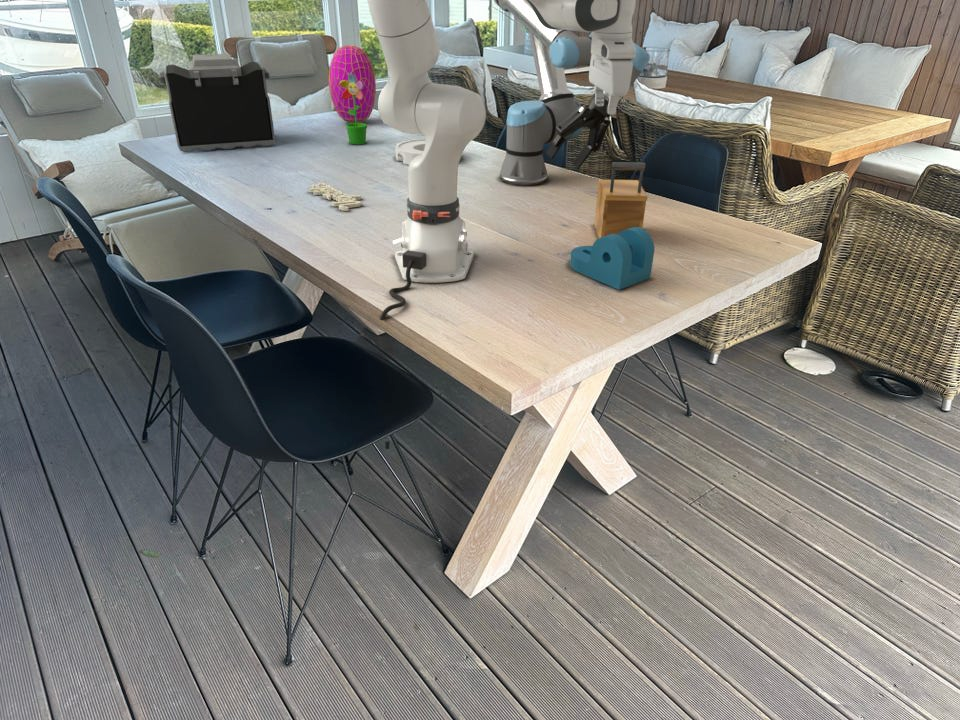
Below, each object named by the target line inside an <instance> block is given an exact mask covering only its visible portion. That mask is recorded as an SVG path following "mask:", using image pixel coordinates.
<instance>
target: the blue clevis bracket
mask: <svg viewBox="0 0 960 720" xmlns="http://www.w3.org/2000/svg"><path fill="white" fill-rule="evenodd" d="M654 255H655V244H654V240H653V238H652V236H651V235H650V234H649V232H648V231H647V230H646V229H644V228H640V227H633V228H629V229H626V230H623V231H621V232H620V233H619V234H618V235H617V234H610V235H607V236H604V237H601V238H599V237H598V238H597V239H595V241H594V242H593V243H592V245H581V246H577V247H575V248H572V249H571V251H570V257H569V258H570V259H569V266H570V268H571V269H572V270H573V271H575V272H577V273H579V274H582V275H584V276H586V277H588V278H591V279H593V280H595V281H598V282H600V283H603V284H605V285H607V286H609V287H611V288H613V289H616V290H619V291H620V290H622V289H626V288H627V287H630V286H633V285H636V284H638V283H640V282H643V281H646V280H648V279H651V277H652V269H653V262H654V257H655V256H654Z"/></svg>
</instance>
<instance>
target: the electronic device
mask: <svg viewBox="0 0 960 720" xmlns="http://www.w3.org/2000/svg"><path fill="white" fill-rule="evenodd" d="M187 66H188V68H187V69H186V68H184V67H181V66H179V65H176V64H165V66H164V71H161V72H159V83H161V84H165V85H166V89H167V94H168V107H169V111H170V115H171V120H172V125H173V130H174V135H175V140H176V144H177V148H178V150H179V152H183V153H192V152H194V151H198V150H202V151H204V152H209V151H213V150H215V149H222V150H233V149H235V148H236V147H238V148H239V147H242V148H245V149H247V148H251V149H252V148H253V147H255V146H262V147H272V146H273V145H275V144H276V135H275V134H276V133H275V128H274V119H273V114H272V105H271V99H270V96H269V95H268V88H267V87H268V85H267V79H270V78H271V76H270V72H269V71H268V70H267V68H265V67H262V66H261V64H260V63H259V62H258V61H249V62H248V63H245V64H244V65H242V66H240V64H239V63H238V61H237V60H235V59H233V58H232V56H231V54H230V53H217V54H211V55H210V54H209V55H208V54H207V55H206V54H203V53H202V54H193V55H192V59H191V60H190V61H188V62H187Z"/></svg>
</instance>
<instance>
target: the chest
mask: <svg viewBox="0 0 960 720" xmlns="http://www.w3.org/2000/svg"><path fill="white" fill-rule="evenodd" d="M646 205H647V201H620V200H605V198H604V195H603V193H602V191H601V188H600V186H599V184H598V187H597V196H596V206H595V215H594V228H595V231H596V234H597V237H598V239H599V238H601V237H604V236H607V235H610V234H617V235H618V234H619V233H620V232H621V231H623V230H626V229H629V228H633V227H640V228H642V229H644V228H643V227H644V220H645V213H646Z"/></svg>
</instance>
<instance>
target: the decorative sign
mask: <svg viewBox="0 0 960 720" xmlns="http://www.w3.org/2000/svg"><path fill="white" fill-rule="evenodd" d="M308 189H309V190H308V191H309V193H313V195H314V196H319V195H320V196H321V195H322V198H323V199H324V200H326V199H327V200H328V201H332V200H334V201H332V202H331V204H332V205H331V206H332V207H338V210H340V211H344V212H349V211H350V210H349V209H352V208H358V207H361V206H362V201H360V200H362V195H361V194H347V193H343V191H341V190H339V189H336V188H334V187H332V186H331V185H329V184H326V182H319V183H317V184H315V183H313V184H311V187H309V188H308Z"/></svg>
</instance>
